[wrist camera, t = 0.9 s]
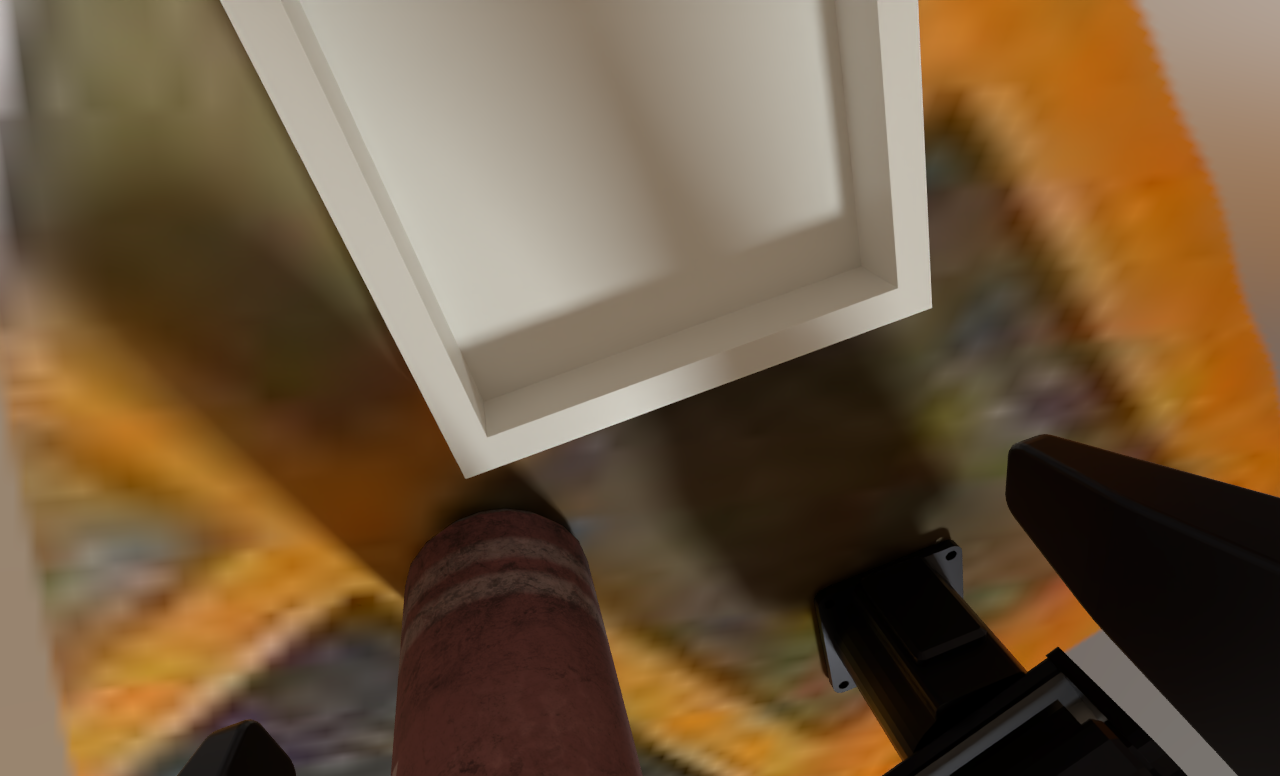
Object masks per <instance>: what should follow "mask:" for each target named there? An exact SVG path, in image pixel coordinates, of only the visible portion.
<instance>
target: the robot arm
mask: <svg viewBox="0 0 1280 776" xmlns="http://www.w3.org/2000/svg"><path fill="white" fill-rule="evenodd" d="M1005 496H1006V501H1007V505H1008V507H1009V509H1010V511H1011V513H1012V515H1013V516H1014V518H1015V519H1016V520H1017V522H1018V523H1019V524H1020V526H1021V527H1022V528H1023V529H1024V531H1025V532H1026V533H1027V535H1028V536H1029V537H1030V539H1031V540H1032V541H1033V542H1034V544H1035V545H1036V546H1037V548H1038V549H1039V550H1040V552H1041V553H1042V554H1043V556H1044V557H1045V558H1046V559H1047V561H1048V562H1049V563H1050V565H1051V566H1052V567H1053V569H1054V570H1055V571H1056V573H1057V574H1058V575H1059V576H1060V578H1061V579H1062V580H1063V582H1064V583H1065V584H1066V586H1067V587H1068V588H1069V590H1070V591H1071V592H1072V593H1073V595H1074V596H1075V597H1076V599H1077V600H1078V601H1079V603H1080V604H1081V605H1082V606H1083V607H1084V609H1085V610H1086V611H1087V612H1088V614H1089V615H1090V616H1091V617H1092V619H1093V620H1094V621H1095V622H1096V623H1097V624H1098V625H1099V627H1100V628H1101V629H1102V630H1103V631H1104V632H1105V633H1106V634H1107V635H1108V637H1109V638H1110V639H1111V640H1112V641H1113V642H1114V643H1115V644H1116V645H1117V646H1118V647H1119V648H1120V649H1121V650H1122V652H1123V653H1124V654H1125V655H1126V656H1127V657H1128V658H1129V659H1130V660H1131V661H1132V662H1133V663H1134V665H1135V666H1136V667H1137V668H1138V669H1139V670H1140V671H1141V672H1142V673H1143V674H1144V675H1145V676H1146V677H1147V678H1148V680H1149V681H1150V682H1151V683H1152V684H1153V685H1154V686H1155V687H1156V688H1157V689H1158V690H1159V691H1160V692H1161V694H1162V695H1163V696H1164V697H1165V698H1166V699H1167V700H1168V701H1169V702H1170V703H1171V704H1172V705H1173V706H1174V707H1175V709H1177V711H1178V712H1179V713H1180V714H1181V715H1182V716H1183V717H1184V718H1185V719H1186V720H1187V721H1188V723H1189V724H1190V725H1191V726H1192V727H1193V728H1194V729H1195V730H1196V731H1197V732H1198V733H1199V734H1200V735H1201V736H1202V737H1203V739H1204V740H1205V741H1206V742H1207V743H1208V744H1209V745H1210V746H1211V747H1212V748H1213V749H1214V750H1215V751H1216V753H1217V754H1218V755H1219V756H1220V757H1221V758H1222V759H1223V760H1224V761H1225V762H1226V763H1227V764H1228V765H1229V767H1230V768H1231V769H1232V770H1233V771H1234V772H1235V773H1236V774H1237V775H1238V776H1280V498H1279V497H1275V496H1271V495H1268V494H1264V493H1260V492H1257V491H1253V490H1250V489H1246V488H1242V487H1239V486H1235V485H1231V484H1228V483H1224V482H1220V481H1217V480H1213V479H1210V478H1206V477H1202V476H1199V475H1195V474H1191V473H1188V472H1184V471H1180V470H1177V469H1173V468H1169V467H1166V466H1162V465H1159V464H1155V463H1151V462H1148V461H1144V460H1140V459H1137V458H1133V457H1129V456H1126V455H1122V454H1119V453H1115V452H1111V451H1108V450H1104V449H1100V448H1097V447H1093V446H1089V445H1086V444H1082V443H1079V442H1075V441H1071V440H1068V439H1064V438H1060V437H1057V436H1053V435H1048V434H1043V435H1038V436H1035V437H1032V438H1029V439H1026V440H1024V441H1021V442H1018V443H1016V444H1014V445H1013V446H1012V447H1011V449H1010V450H1009V453H1008V464H1007V478H1006V492H1005ZM814 604H815V609H816V615H817V620H818V625H819V630H820V635H821V640H822V646H823V651H824V656H825V661H826V666H827V672H828V677H829V682H830V684H831V685H832V687H833V689H834V691H835V692H837V693H842V692H845V691H848V690H850V689H852V688H855V687H858V689H859V691H860V692H861V694H862V696H863V697H864V699H865V701H866V702H867V704H868V705H869V707H870V709H871V710H872V712H873V714H874V715H875V717H876V719H877V720H878V722H879V723H880V725H881V727H882V728H883V730H884V732H885V733H886V735H887V737H888V738H889V740H890V742H891V743H892V745H893V746H894V748H895V750H896V751H897V753H898V755H899V756H900V758H901V760H902V762H901V763H899V764H898V765H896V766H895V767H894V768H892V769H891V770H889V771H888V772H887V773H885V774H884V775H882V776H1187V775H1186V774H1185V773H1184V772H1183V770H1182V769H1181V768H1180V767H1179V766H1178V765H1177V764H1176V763H1175V762H1174V761H1173V760H1172V759H1171V758H1170V757H1169V756H1168V755H1167V754H1166V753H1165V752H1164V751H1163V749H1162V748H1161V747H1160V746H1159V745H1158V744H1157V743H1156V742H1155V741H1154V740H1153V739H1152V738H1151V737H1150V736H1148V734H1147V733H1146V732H1145V731H1144V730H1143V729H1142V728H1141V727H1140V726H1139V725H1138V724H1137V723H1136V722H1134V720H1133V719H1132V718H1131V717H1130V716H1128V715H1127V714H1126V713H1125V712H1124V711H1123V710H1122V709H1121V708H1120V707H1119V706H1118V705H1117V704H1116V703H1115V702H1114V701H1113V700H1112V699H1111V698H1110V697H1109V696H1108V695H1107V694H1106V693H1105V692H1104V691H1103V690H1102V689H1101V688H1100V687H1099V686H1098V685H1097V684H1096V683H1095V682H1094V681H1093V680H1092V679H1091V678H1090V677H1089V676H1088V675H1087V674H1085V672H1084V671H1083V670H1081V669H1080V668H1079V667H1078V666H1077V665H1076V664H1075V663H1074V662H1073V661H1072V660H1071V659H1070V658H1069V657H1068V656H1067V655H1066V654H1065V653H1064V652H1063V651H1062V650H1061V649H1060V648H1059V647H1057V648H1055V649H1054V650H1053V651H1051V652H1050V653H1048V654H1047V655H1046V657H1047V659H1045V660H1044V661H1042V662H1041V663H1039V664H1038V665H1037V666H1035V667H1034V668H1032V669H1031V670H1030V671H1028V672H1027V671H1026V670H1025V669H1024V667H1023V666H1022V665H1021V664H1020V663H1019V662H1018V661H1017V659H1016V658H1015V657H1014V656H1013V655H1012V654H1011V653H1010V652H1009V650H1008V649H1007V648H1006V647H1005V646H1004V645H1003V644H1002V642H1001V641H1000V640H999V639H998V638H997V637H996V636H995V635H994V633H993V632H992V631H991V630H990V629H989V628H988V627H987V626H986V624H985V623H984V622H983V621H982V620H981V619H980V618H979V616H978V615H977V614H976V613H975V612H974V611H973V610H972V609H971V607H970V606H969V605H968V604H967V603H966V602H965V601H964V600H963V568H962V550H961V548H960V547H959V546H958V545H957V544H956V543H955V542H954V541H953V540H946V541H943V542H941V543H938V544H936V545H933V546H931V547H928V548H926V549H923V550H921V551H918V552H916V553H913V554H911V555H908V556H906V557H903V558H900V559H898V560H895V561H893V562H890V563H888V564H885V565H883V566H880V567H878V568H875V569H873V570H870V571H868V572H865V573H863V574H860V575H858V576H855V577H853V578H850V579H848V580H845V581H843V582H840V583H837V584H835V585H832V586H830V587H827V588H825V589H823V590H821V591H819V592H818V593H817V594H816V596H815V598H814ZM177 776H296V773H295V769H294V765H293V763H292V761H291V759H290V758H289V756H288V755H287V754H286V753H285V752H284V751H283V749H282V748H281V747H280V746H279V745H278V744H277V743H276V741H275V740H274V739H273V738H272V737H271V736H270V735H269V733H268V732H267V731H266V730H265V729H264V728H263V727H262V725H261V724H260V723H258V722H257V721H254V720H251V719H250V720H244V721H241V722H239V723H236V724H233V725H230V726H227V727H225V728H222V729H219V730H217V731H215V732H213V733H211V734H210V735H209V736H208V737H207V738H206V739H205V740H204V741H203V743H202V744H201V745H200V746H199V748H198V749H197V750H196V752H195V753H194V754H193V756H192V757H191V758H190V760H189V761H188V762H187V763H186V765H185V766H184V767H183V769H182V770H181V771H180V773H179V774H178V775H177Z"/></svg>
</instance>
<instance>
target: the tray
mask: <svg viewBox="0 0 1280 776" xmlns="http://www.w3.org/2000/svg"><path fill="white" fill-rule="evenodd" d="M220 1H221V3H222V5H223V7H224V9H225V11H226V13H227V15H228V17H229V19H230V21H231V23H232V25H233V27H234V28H235V30H236V32H237V34H238V36H239V38H240V40H241V42H242V44H243V46H244V48H245V50H246V52H247V54H248V56H249V58H250V60H251V62H252V64H253V66H254V67H255V69H256V71H257V73H258V75H259V77H260V79H261V81H262V83H263V85H264V87H265V89H266V91H267V93H268V95H269V97H270V99H271V101H272V103H273V105H274V106H275V108H276V110H277V112H278V114H279V116H280V118H281V120H282V122H283V124H284V126H285V128H286V130H287V132H288V134H289V136H290V138H291V140H292V142H293V144H294V145H295V147H296V149H297V151H298V153H299V155H300V157H301V159H302V161H303V163H304V165H305V167H306V169H307V171H308V173H309V175H310V177H311V179H312V181H313V183H314V184H315V186H316V188H317V190H318V192H319V194H320V196H321V198H322V200H323V202H324V204H325V206H326V208H327V210H328V212H329V214H330V216H331V218H332V220H333V222H334V223H335V225H336V227H337V229H338V231H339V233H340V235H341V237H342V239H343V241H344V243H345V245H346V247H347V249H348V251H349V253H350V255H351V257H352V259H353V261H354V262H355V264H356V266H357V268H358V270H359V272H360V274H361V276H362V278H363V280H364V282H365V284H366V286H367V288H368V290H369V292H370V294H371V296H372V298H373V300H374V301H375V303H376V305H377V307H378V309H379V311H380V313H381V315H382V317H383V319H384V321H385V323H386V325H387V327H388V329H389V331H390V333H391V335H392V337H393V339H394V340H395V342H396V344H397V346H398V348H399V350H400V352H401V354H402V356H403V358H404V360H405V362H406V364H407V366H408V368H409V370H410V372H411V374H412V376H413V378H414V379H415V381H416V383H417V385H418V387H419V389H420V391H421V393H422V395H423V397H424V399H425V401H426V403H427V405H428V407H429V409H430V411H431V413H432V415H433V417H434V418H435V420H436V422H437V424H438V426H439V428H440V430H441V432H442V434H443V436H444V438H445V440H446V442H447V444H448V446H449V448H450V450H451V452H452V454H453V456H454V457H455V459H456V461H457V463H458V465H459V467H460V469H461V471H462V473H463V475H464V477H465V479H468V478H470V477H473V476H476V475H478V474H481V473H484V472H487V471H489V470H492V469H495V468H498V467H500V466H503V465H506V464H508V463H511V462H514V461H517V460H519V459H522V458H525V457H527V456H530V455H533V454H536V453H538V452H541V451H544V450H546V449H549V448H552V447H555V446H557V445H560V444H563V443H566V442H568V441H571V440H574V439H576V438H579V437H582V436H585V435H587V434H590V433H593V432H595V431H598V430H601V429H604V428H606V427H609V426H612V425H615V424H617V423H620V422H623V421H625V420H628V419H631V418H634V417H636V416H639V415H642V414H644V413H647V412H650V411H653V410H655V409H658V408H661V407H663V406H666V405H669V404H672V403H674V402H677V401H680V400H683V399H685V398H688V397H691V396H693V395H696V394H699V393H702V392H704V391H707V390H710V389H712V388H715V387H718V386H721V385H723V384H726V383H729V382H732V381H734V380H737V379H740V378H742V377H745V376H748V375H751V374H753V373H756V372H759V371H761V370H764V369H767V368H770V367H772V366H775V365H778V364H780V363H783V362H786V361H789V360H791V359H794V358H797V357H800V356H802V355H805V354H808V353H810V352H813V351H816V350H819V349H821V348H824V347H827V346H829V345H832V344H835V343H838V342H840V341H843V340H846V339H849V338H851V337H854V336H857V335H859V334H862V333H865V332H868V331H870V330H873V329H876V328H878V327H881V326H884V325H887V324H889V323H892V322H895V321H897V320H900V319H903V318H906V317H908V316H911V315H914V314H917V313H919V312H922V311H925V310H927V309H930V308H932V296H931V274H930V252H929V230H928V208H927V186H926V164H925V142H924V120H923V99H922V77H921V55H920V33H919V11H918V0H220Z"/></svg>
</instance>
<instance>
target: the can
mask: <svg viewBox="0 0 1280 776" xmlns="http://www.w3.org/2000/svg"><path fill="white" fill-rule="evenodd" d="M391 776H643V775H642V772H641V768H640V764H639V760H638V756H637V752H636V748H635V744H634V740H633V737H632V733H631V729H630V725H629V721H628V717H627V713H626V709H625V705H624V701H623V698H622V694H621V690H620V686H619V682H618V678H617V674H616V670H615V666H614V662H613V659H612V655H611V651H610V647H609V643H608V639H607V635H606V631H605V627H604V623H603V620H602V616H601V612H600V608H599V604H598V600H597V596H596V592H595V588H594V584H593V581H592V577H591V573H590V569H589V565H588V561H587V558H586V556H585V554H584V552H583V550H582V547H581V545H580V543H579V541H578V540H577V539H576V538H575V537H574V536H573V535H572V534H571V533H570V532H569V531H567V530H566V529H565V528H564V527H563V526H562V525H560V524H558V523H556V522H554V521H552V520H549V519H547V518H545V517H542V516H540V515H538V514H536V513H533V512H530V511H523V510H515V509H508V508H505V509H497V510H489V511H481V512H478V513H475V514H473V515H470V516H467V517H465V518H462V519H460V520H457V521H455V522H454V523H452V524H451V525H450V526H448V527H447V528H445V529H444V530H443V531H441V532H440V533H439V534H437V535H436V536H435V537H433V538H432V539H431V540H429V541H428V542H427V543H426V544H425V545H424V547H423V548H422V549H421V551H420V552H419V554H418V555H417V556H416V558H415V559H414V560H413V562H412V563H411V566H410V570H409V574H408V577H407V581H406V585H405V595H404V609H403V622H402V635H401V649H400V662H399V676H398V689H397V702H396V716H395V729H394V743H393V756H392V769H391Z"/></svg>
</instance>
